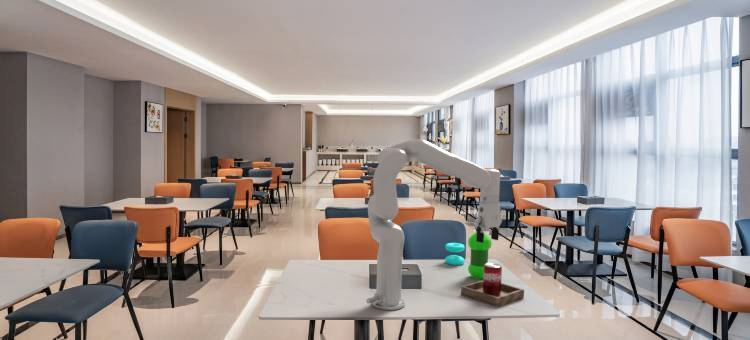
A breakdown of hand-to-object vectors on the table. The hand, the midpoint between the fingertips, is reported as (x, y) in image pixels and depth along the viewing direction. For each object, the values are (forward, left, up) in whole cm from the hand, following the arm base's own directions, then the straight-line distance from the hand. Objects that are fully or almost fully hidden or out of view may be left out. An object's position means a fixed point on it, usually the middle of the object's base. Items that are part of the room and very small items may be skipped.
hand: (487, 240), depth 188 cm
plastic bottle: (+18, +17, -23) cm, 34 cm away
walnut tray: (+1, -3, -23) cm, 23 cm away
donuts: (+29, +41, -23) cm, 55 cm away
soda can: (+1, -2, -22) cm, 22 cm away
